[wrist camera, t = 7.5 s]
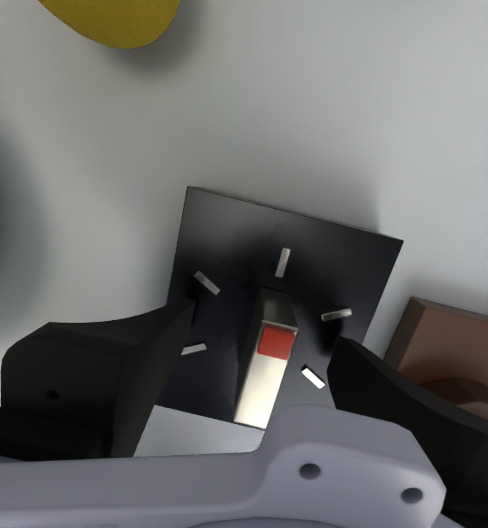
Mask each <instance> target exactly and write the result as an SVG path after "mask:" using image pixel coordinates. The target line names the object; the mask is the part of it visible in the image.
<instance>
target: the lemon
mask: <svg viewBox="0 0 488 528" xmlns="http://www.w3.org/2000/svg"><path fill="white" fill-rule="evenodd" d="M38 1H39V2H40V3H41V4H42V5H43V6H44V7H45V8H47V9H48V10H49V11H50V12H51V13H53V14H54V15H55V16H56V17H58V18H59V19H60V20H62V21H63V22H64V23H65V24H67V25H68V26H69V27H71V28H72V29H73V30H75V31H76V32H78V33H79V34H81V35H83V36H85V37H86V38H89V39H91V40H93V41H96V42H98V43H101V44H103V45H105V46H108V47H115V48H122V49H132V48H137V47H143V46H145V45H147V44H149V43H151V42H153V41H155V40H156V39H157V38H158V37H159V36H161V35H162V34H163V33H164V32H165V31H166V30H167V28H168V27H169V25H170V23H171V22H172V20H173V18H174V17H175V15H176V13H177V9H178V6H179V3H180V0H38Z"/></svg>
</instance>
